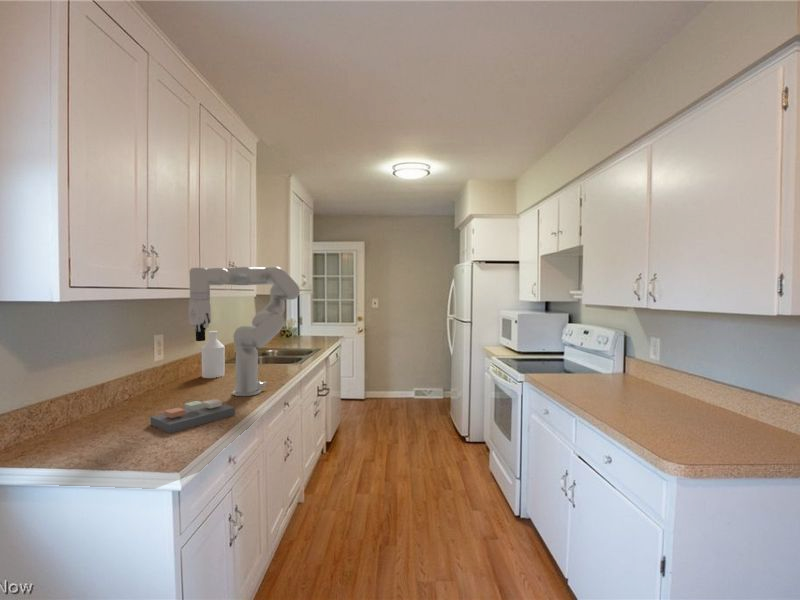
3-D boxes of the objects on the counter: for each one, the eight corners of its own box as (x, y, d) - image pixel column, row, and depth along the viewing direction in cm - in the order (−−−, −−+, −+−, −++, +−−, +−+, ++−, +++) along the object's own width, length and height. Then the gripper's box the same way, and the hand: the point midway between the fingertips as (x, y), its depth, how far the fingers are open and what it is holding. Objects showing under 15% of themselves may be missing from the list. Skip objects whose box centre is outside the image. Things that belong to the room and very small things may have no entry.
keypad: (214, 408, 161) (214, 401, 161) (234, 415, 153) (234, 407, 153) (150, 425, 142) (150, 416, 142) (169, 433, 134) (169, 424, 134)
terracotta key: (178, 412, 145) (178, 407, 145) (184, 414, 142) (184, 409, 142) (164, 415, 141) (164, 410, 141) (170, 418, 138) (170, 413, 138)
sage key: (197, 405, 151) (197, 400, 151) (204, 407, 148) (204, 402, 148) (184, 408, 147) (184, 403, 147) (191, 410, 144) (191, 405, 144)
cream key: (214, 403, 157) (214, 398, 156) (221, 405, 154) (221, 401, 154) (203, 406, 153) (202, 401, 153) (209, 408, 150) (209, 403, 150)
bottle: (197, 376, 222) (197, 331, 221) (218, 372, 231) (218, 329, 230) (207, 379, 214) (207, 332, 213) (228, 375, 223) (228, 331, 222)
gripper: (181, 297, 167) (182, 340, 168) (200, 297, 159) (201, 343, 160) (199, 296, 174) (199, 338, 174) (218, 297, 165) (219, 341, 166)
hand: (200, 340), depth 167 cm, fingers closed
